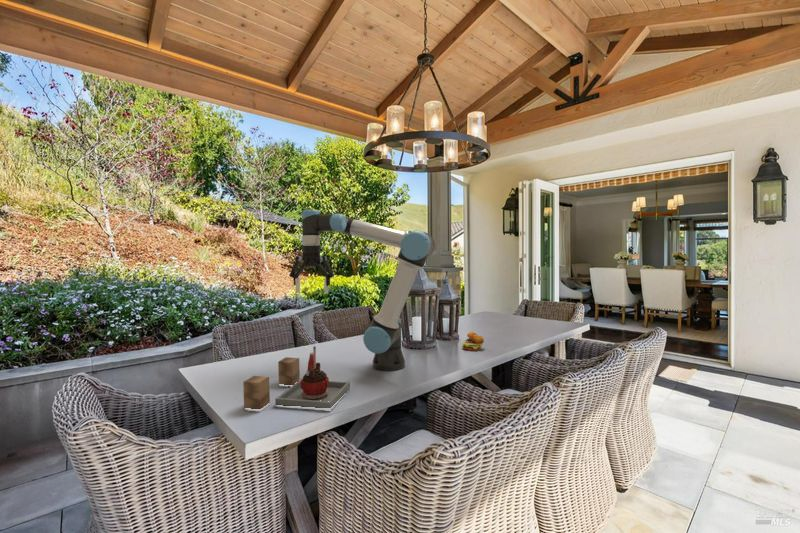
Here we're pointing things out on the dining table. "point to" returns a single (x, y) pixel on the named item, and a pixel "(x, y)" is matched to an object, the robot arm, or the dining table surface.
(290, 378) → the right walnut block
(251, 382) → the left walnut block
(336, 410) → the dining table surface
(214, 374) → the dining table surface
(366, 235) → the robot arm
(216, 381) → the dining table surface
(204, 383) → the dining table surface
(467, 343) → the cheeseburger
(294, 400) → the tray
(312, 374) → the cake
